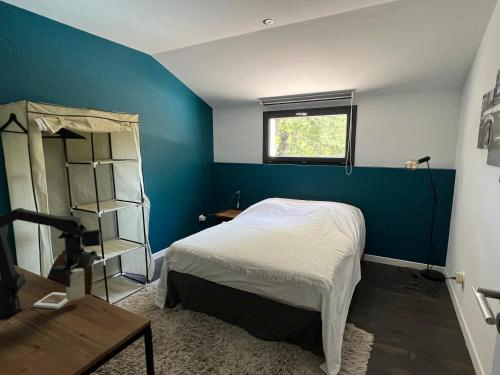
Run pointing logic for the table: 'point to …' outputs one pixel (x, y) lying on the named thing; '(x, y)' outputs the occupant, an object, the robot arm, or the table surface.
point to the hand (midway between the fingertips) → (75, 282)
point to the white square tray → (52, 301)
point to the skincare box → (76, 285)
